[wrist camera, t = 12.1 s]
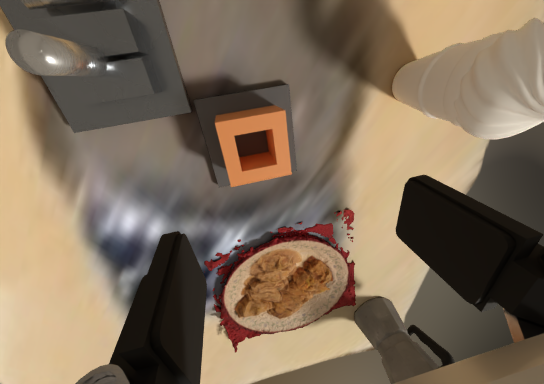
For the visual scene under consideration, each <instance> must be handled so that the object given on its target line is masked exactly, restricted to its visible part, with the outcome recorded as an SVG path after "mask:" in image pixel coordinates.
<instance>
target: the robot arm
mask: <svg viewBox="0 0 544 384" xmlns="http://www.w3.org/2000/svg"><path fill="white" fill-rule="evenodd" d="M396 234H397V236H398V237H399V238H400V239H401V240H402V241H403V242H404V243H405V244H406V245H407V246H408V247H409V248H410V249H411V250H412V251H413V252H414V253H416V254H417V255H418V256H419V257H420V258H421V259H422V260H423V261H424V262H425V263H426V264H427V265H428V266H429V267H430V268H431V269H433V270H434V271H435V272H436V273H437V274H438V275H439V276H440V277H441V278H442V279H443V280H444V281H445V282H446V283H448V285H450V286H451V287H452V288H453V289H454V290H455V291H456V292H457V293H458V294H459V295H460V296H461V297H462V298H463V299H465V300H466V301H467V302H469V303H471V304H473V305H474V306H475V307H477V309H479V310H480V311H481V312H483V311H486V310H489V309H493V308H495V307H496V305H497V304H499V305H500V306H502V307H503V310H504V313H505V317H506V320H507V323H508V325H509V328H510V332H511V335H512V338H513V341H514V343H513V344H510V345H507V346H504V347H501V348H498V349H495V350H492V351H489V352H486V353H483V354H480V355H477V356H474V357H471V358H468V359H465V360H462V361H459V362H456V363H453V364H450V365H447V366H444V367H441V368H438V369H435V370H432V371H429V372H426V373H423V374H420V375H417V376H414V377H411V378H409V379H406V380H403V381H400V382H397V383H394V384H544V246H541V245H539V244H538V242H539V240H540V239H541V237H542V236H543V234H542V233H540V232H538V231H536V230H534V229H532V228H530V227H528V226H526V225H524V224H522V223H520V222H518V221H516V220H514V219H512V218H510V217H508V216H506V215H504V214H502V213H500V212H498V211H496V210H494V209H492V208H490V207H488V206H486V205H484V204H482V203H480V202H478V201H476V200H474V199H473V198H470V197H469V196H467V195H465V194H463V193H461V192H459V191H457V190H455V189H453V188H451V187H449V186H447V185H445V184H443V183H441V182H439V181H437V180H435V179H433V178H431V177H429V176H427V175H420V176H416V177H412V178H410V179H409V180H408V181H407V183H406V184H405V187H404V191H403V196H402V201H401V206H400V211H399V216H398V221H397V226H396ZM206 291H207V284H206V279H205V277H204V274H203V272H202V270H201V268H200V265H199V263H198V261H197V259H196V256H195V254H194V252H193V250H192V247H191V245H190V243H189V241H188V238H187V236H186V235H185V234H181V233H180V232H179V231H177V232H172V233H168V234H164V235H162V236H161V238H160V241H159V244H158V247H157V249H156V252H155V255H154V257H153V260H152V263H151V266H150V268H149V271H148V274H147V275H145V276H144V277H143V278H142V280H141V282H140V285H139V288H138V290H137V293H136V295H135V298H134V300H133V303H132V306H131V308H130V311H129V313H128V316H127V319H126V321H125V324H124V326H123V329H122V332H121V334H120V337H119V339H118V342H117V344H116V347H115V350H114V352H113V355H112V357H111V360H110V363H109V364H108V365H103V366H100V367H98V368H96V369H94V370H92V371H90V372H89V373H88V374H86V375H85V376H84V377H82V378H81V379H80V380H79V381H78V382H77V383H76V384H200V376H201V362H202V347H203V333H204V319H205V305H206Z"/></svg>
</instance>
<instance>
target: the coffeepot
mask: <svg viewBox="0 0 544 384" xmlns="http://www.w3.org/2000/svg"><path fill="white" fill-rule="evenodd" d="M354 317H355V323H356V324H357V326H358V327H359V328H360V329H361V331H362V332H363V333H364V335H365V336H366V337H367V339H368V340H369V341H370V343H371V344H372V345H373V347H374V348H375V349H377V350H378V352H379V353H380V355H381V357H382V363H383V366H384V368H385V370H386V373H387V375H388V378H389V380H390V382H391V384H394V383H397V382H400V381H403V380H406V379H409V378H411V377H414V376H417V375H420V374H423V373H426V372H429V371H432V370H435V369H438V368H441V367H444V366H447V365H450V364H453V363H455V362H454V359H453V357H452V356H451V355H450V354H449V353H448V352H447V351H446V350H445V349H444V348H442V347H441V346H439V345H438V344H437V343H436V342H435V341H434V340H432V339H431V338H430V337H428V336H427V335H426V334H425V333H424V332H423V331H421V330H420V329H419V328H418V327H416V326H415V325H411V326H410V327H409V328H408V329H406V327H405V326H404V323H403V322H402V320H401V318H400V316H399V314H398V312H397V311H396V309H395V307H394V305H393V303H392V302H391V301H390V300H388V299H386V298H382V297H380V298H374V299H371V300H369V301H367V302H365V303H364V304H362V305H361V306H360V307H359V308H358V309H357V311H356V312H355V316H354ZM413 333H415V334H416V335H417V336H418V337H419V339H420V340H421V341H422V342H423V343H424V344H426V345H427V346H428V347H430V349H431V350H432V351H433V352H434V353H435V354H436V355H437V356H438V357H439V358H440V359H441V361H442V364H443V365H442V366H441V367H439V366H438V365H437V364H436V363H435V362H434V361H433V360H432V359H431V357H430V356H429V355H428V354H427V353H426V352H425V351H424V350H423V349H422V348H421V347H420V346H419V344H418V343H416V342H414V341H412V339H411V338H410V337H409V335H412V334H413ZM408 334H409V335H408Z"/></svg>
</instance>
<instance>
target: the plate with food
mask: <svg viewBox="0 0 544 384" xmlns="http://www.w3.org/2000/svg"><path fill="white" fill-rule="evenodd" d="M335 213H336V212H335ZM335 213H334V214H335ZM341 213H342V212H338V214H337V216H339V215H340V214H341ZM347 216H349V218H348V219H346V218H347ZM344 217H346V218H345V219H346V221H344V224H346V223H347V230H349V229H352V230H353V229H354V228H351V227H349V225H350V224H351V223H352V222H353V221H354V213H353V211H351V210H344V216H343V217H342V220H343V218H344ZM337 220H338V219H337ZM297 224H298V223H297ZM299 224H302V223H299ZM315 225H316V226H314V227H310V228H306V229H305V230H299V231H296V230H295V229H294V231H293V230H292V229H293V228H292V227H289V228H285V227H286V226H285V227H284V228H280V229H278V233H281V234H280V235H279V234H277V235H279V238H278V236H276V235H274V236H272V237H274V238H275V236H276V237H277V238H275V239H273V240H272V241H270V242H268V243H264V244H263V245H260V246H259V247H257V248H256V249H254V250H253V247H251V248H250V251H248V252H246V253H245V254H243V253H244V250H242V251H241V252H242V253H241V254H239V253H238V254H237V255H238V256H240V257H239V258H238V259H239V260H238V261H237V262H234V264H235V265H234V267H233V269H231V266H232V265H233V264H230V265H229V266H227V265H226V266H225V267H224V266H221V269H219V268H218V269H219V270H218V275H222V274H225V275H224V276H223V279H222V280H223V281H224V280H225V279H226V278H227V277H228V278H227V282H226V284H225V286H224V288H223V291H222V294H221V295H218V296H219V299H217V298H216V297H217V296H216V295H214V296H213V297H214V298H215V300H216V301H217V303H218V304H220V305H221V308H220V307H218V306H216V305H215V304H214V306H215V310H216V312H221V316H220V318H221V319H223V318H224V320H223V321H222V322H221V323H220V325H221V326H222V325H223V326H225V328H226V330H227V332H228V336H229V339H230V340H231V341H232V344H233V347H234V349H235V353H236V352H237V347H236V346H237V345H238V343H239V342H241V341H243V340H245V338H246V337H247V338H252V337H255V336H260V335H261V334H274V333H278V332H283V331H291V330H296V329H298V328H303V327H304V326H307V325H309V324H310V323H313V322H314V321H316V320H318V319H319V318H320V317H322V315H325V314H328V313H329V312H331V311H332V310H334V309H337V308H340V307H343V306H347V305H348V306H350V305H352V306H354V305H356V303H355V301H356V300H355V297H356V295H355V286H353V285H354V284H355V281H354V265H355V263H354V262H352V263H347V257H348V255H349V252H347V253H346V252H344V251H343V248H342V247H341V248H340V249H341V252H340V250H338V244H336V241H335V239H334V238H332V237H333V236H331V235H332V234H333V225H332V223H330V224H326V225H323V224H315ZM342 228H343V227H342ZM291 230H292V232H293V233H291ZM283 232H286V233H284V234H283ZM287 232H288V233H287ZM307 232H312V233H314V232H315V233H318V234H321V235H322V236H323V235H324V236H325V237H326V236H328V238H329V237H330V236H331V238H329V241H331V242H333V244H336V247H335V248H334V247H332V246H331V245H329V243H328V242H327V243H326V241H325V240H324V239H322V238H321V239H320V238H318V237H315V236H313V235H312V236H313V237H312V236H311V235H309V233H307ZM270 233H273V232H270ZM290 233H291V235H290ZM295 233H296V234H295ZM322 233H324V234H322ZM285 234H286V235H285ZM287 234H288V235H287ZM284 235H285V236H284ZM308 235H309V236H308ZM347 235H350V234H347ZM281 236H283V237H281ZM348 238H349V237H348ZM351 239H353V237H351ZM256 240H257V239H256ZM240 241H241V240H238V242H240ZM352 242H353V240H352ZM241 246H242V247H243V246H244V245H241ZM241 246H240V247H241ZM240 247H237V246H235V248H234V249H235V250H239V249H238V248H240ZM347 251H348V250H347ZM231 252H232V250H231V251H230V253H231ZM230 253H228V254H225V255H222V253H217V254H216V256H220V257H222V258H221V259H220V260H218V261H216V262H213V261H212V259H211V261H210V262H208V261H205V262H204V264H205V265H206V266H207V267H208V269H209V271H212V269H213V268H215V267H217V266H218V265H221V264H220V263H222V264H223V263H225V261H227V260H228V258H229V255H230ZM217 264H218V265H217ZM222 267H223V268H222ZM230 269H231V272H230ZM229 272H230V274H229V276H228V273H229ZM223 281H222V282H221V283H220V284H222V283H223ZM224 283H225V282H224ZM222 287H223V286H222ZM214 290H215V288H213V291H214ZM220 299H221V302H220Z"/></svg>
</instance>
